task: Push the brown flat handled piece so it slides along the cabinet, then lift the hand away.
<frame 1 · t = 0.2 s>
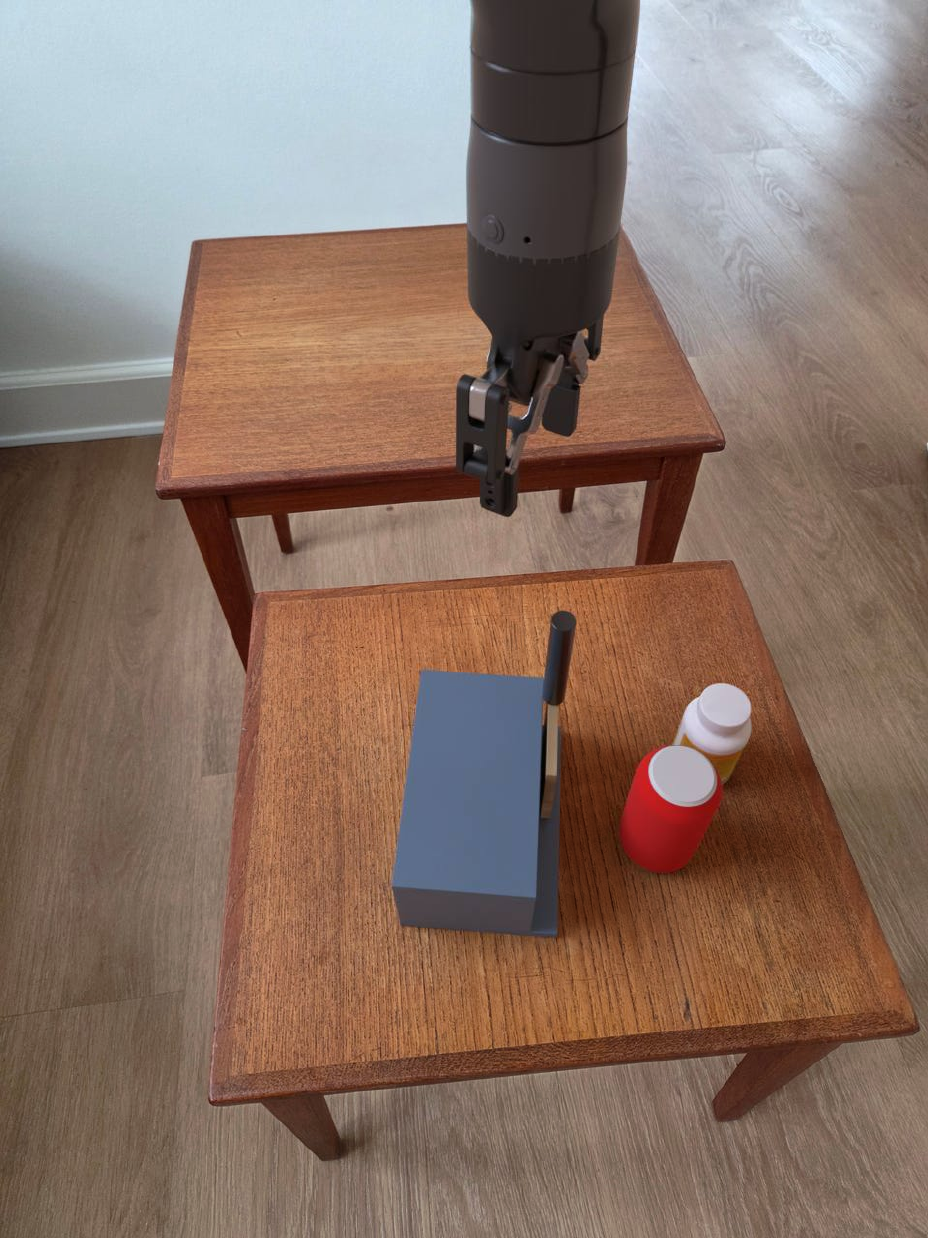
hand: (529, 468, 54), 29 cm above the table, tool pointing down, fingers open, 8 cm apart
brown flat handled piece: (553, 718, 65), point 10 cm above the table, slide at 0.0 cm
beverage can: (654, 842, 69), on the table
supplement bottle: (699, 764, 74), on the table
cabinet: (474, 821, 71), on the table
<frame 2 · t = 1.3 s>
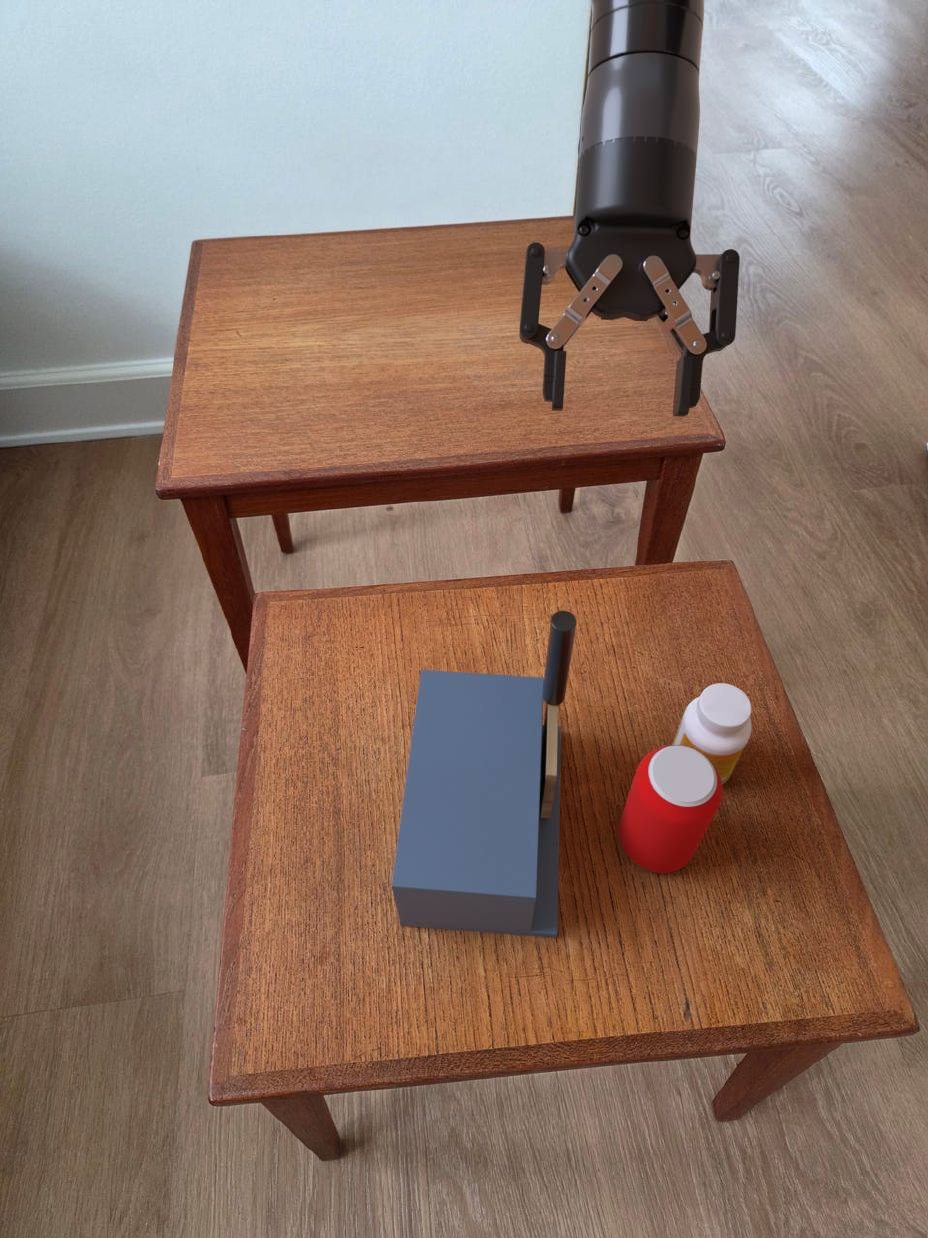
hand: (618, 412, 57), 29 cm above the table, tool tilted 45°, fingers open, 8 cm apart
nothing on the table moved.
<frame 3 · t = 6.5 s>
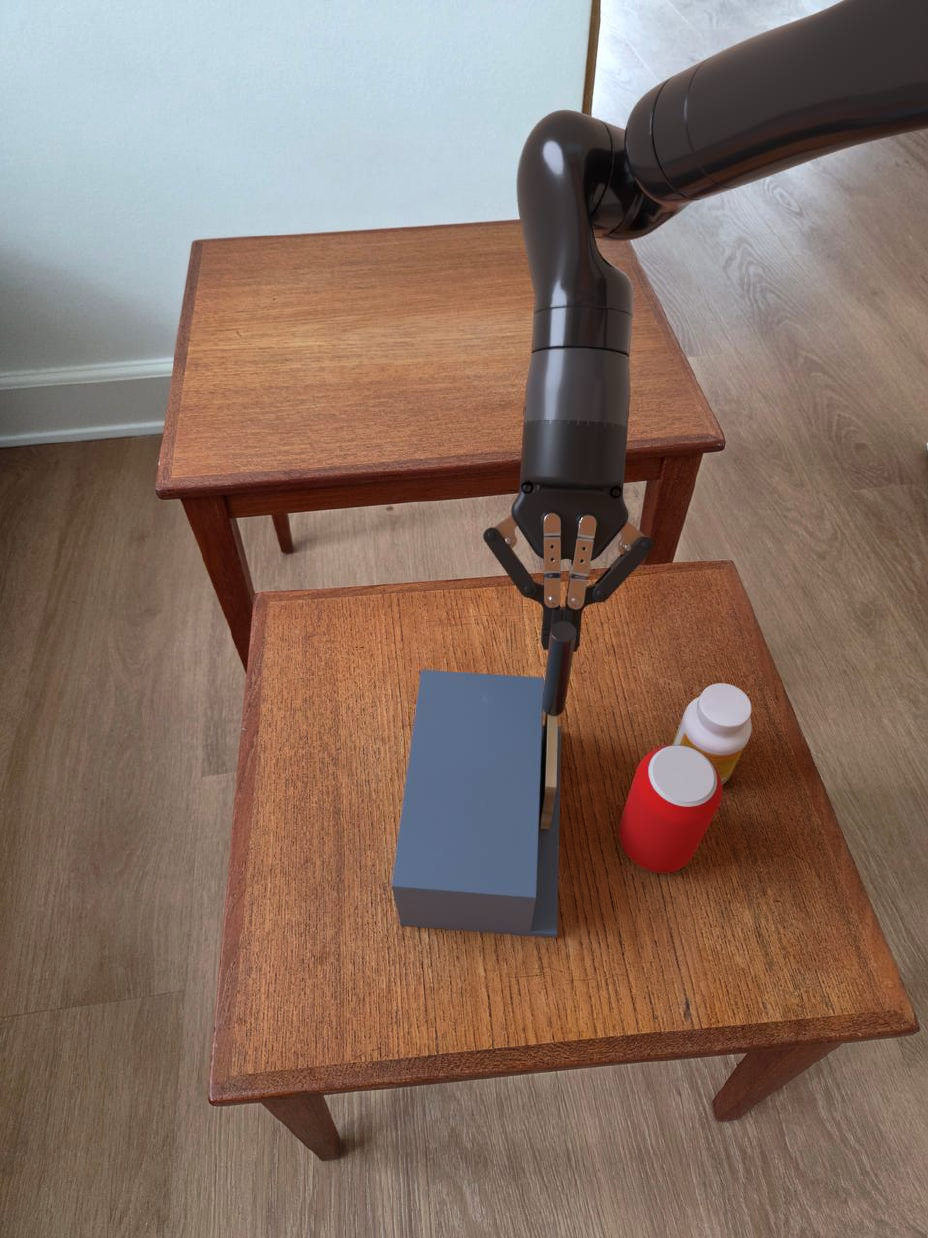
hand: (559, 656, 64), 14 cm above the table, tool tilted 45°, fingers closed
brown flat handled piece: (553, 729, 64), point 10 cm above the table, slide at 1.0 cm, touching gripper
everything else where it was.
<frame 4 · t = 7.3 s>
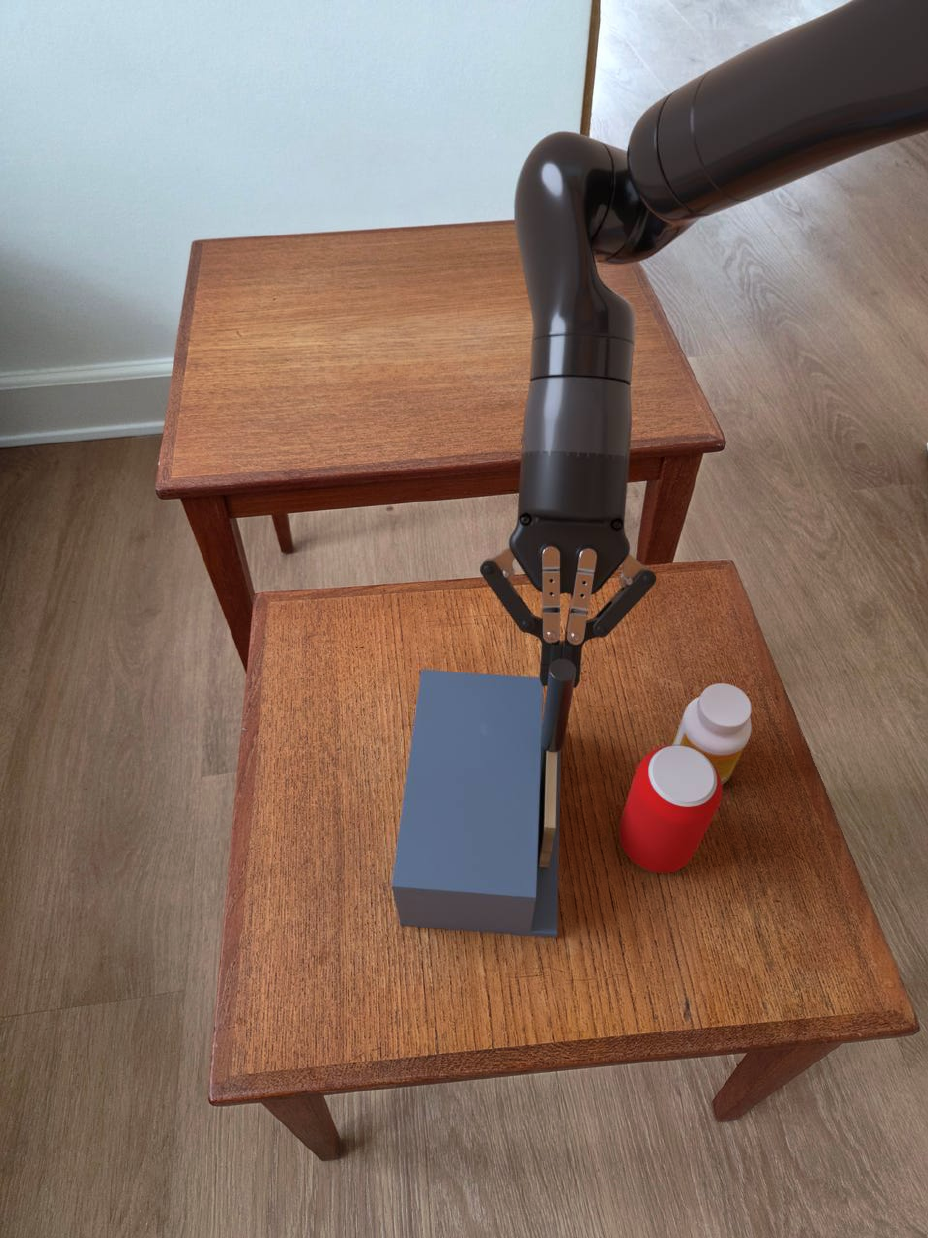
hand: (558, 692, 62), 14 cm above the table, tool tilted 45°, fingers closed
brown flat handled piece: (552, 767, 62), point 10 cm above the table, slide at 4.1 cm, touching gripper
everything else where it was.
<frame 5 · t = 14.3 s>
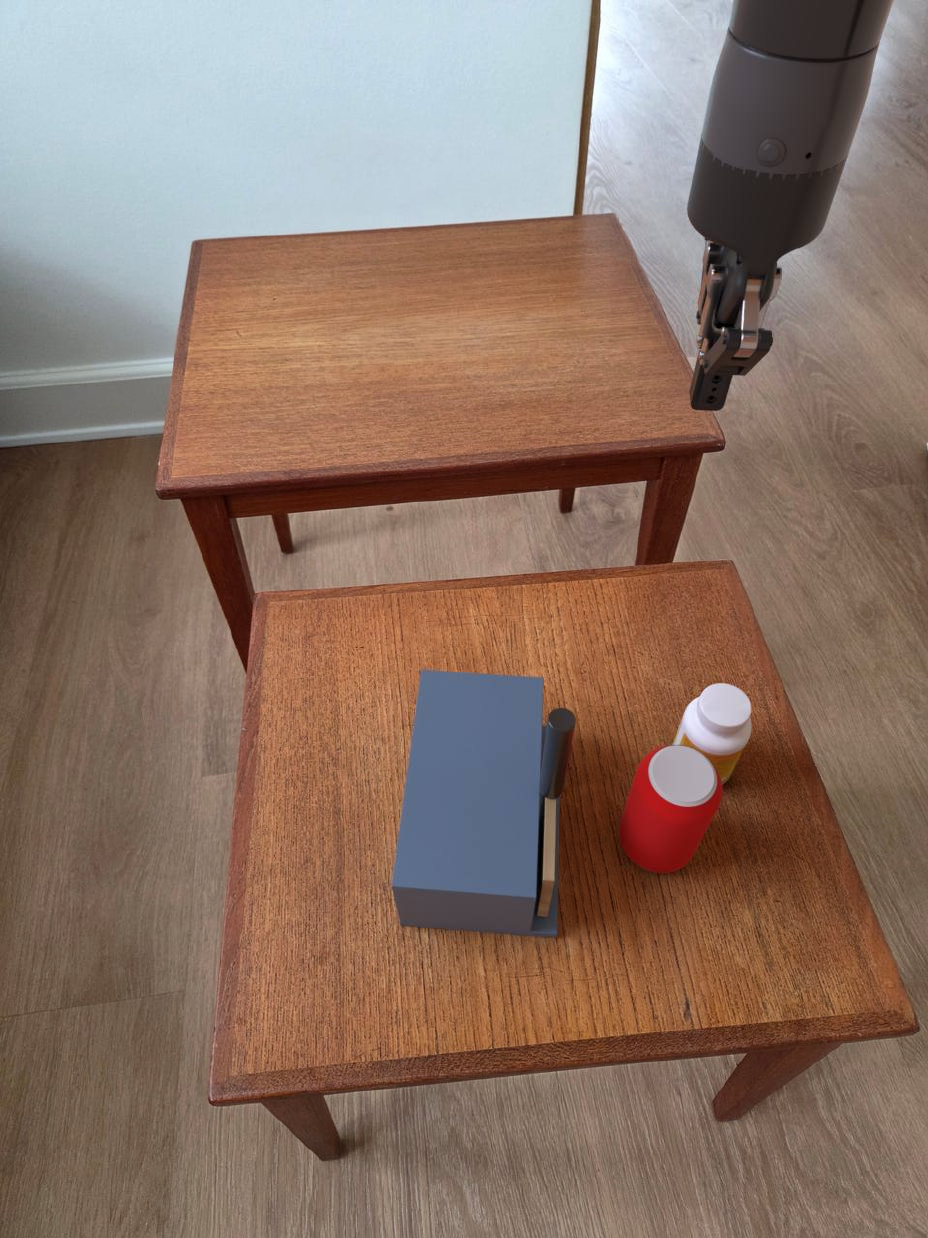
hand: (705, 403, 58), 29 cm above the table, tool pointing down, fingers closed
brown flat handled piece: (551, 816, 60), point 10 cm above the table, slide at 8.0 cm
everything else where it was.
at the end: brown flat handled piece slide at 8.0 cm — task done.
